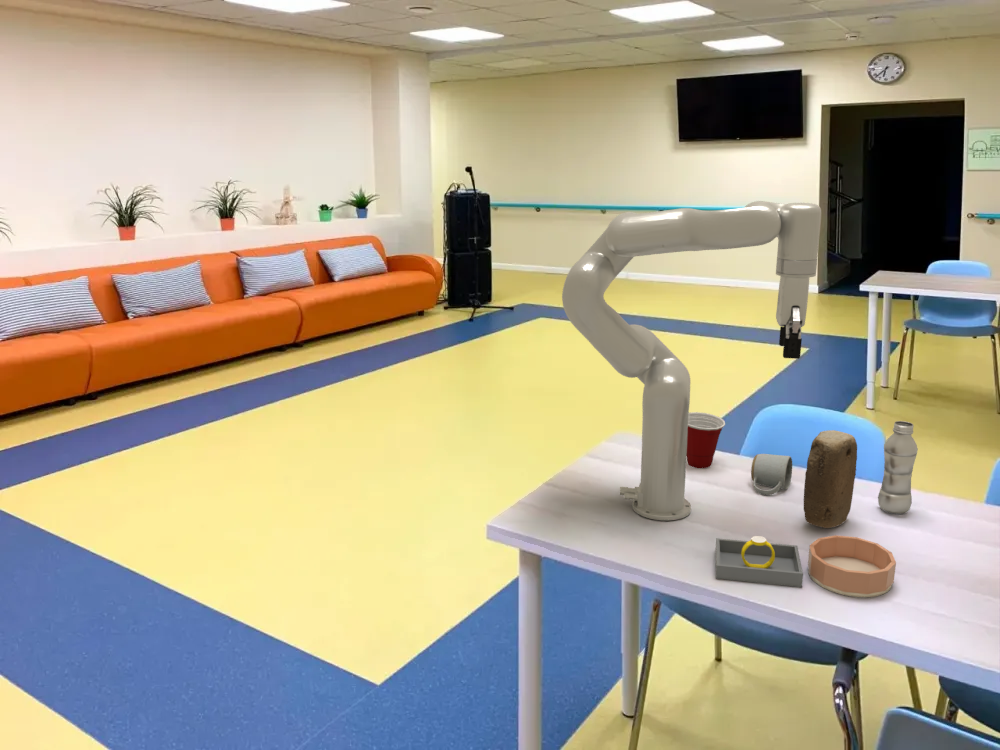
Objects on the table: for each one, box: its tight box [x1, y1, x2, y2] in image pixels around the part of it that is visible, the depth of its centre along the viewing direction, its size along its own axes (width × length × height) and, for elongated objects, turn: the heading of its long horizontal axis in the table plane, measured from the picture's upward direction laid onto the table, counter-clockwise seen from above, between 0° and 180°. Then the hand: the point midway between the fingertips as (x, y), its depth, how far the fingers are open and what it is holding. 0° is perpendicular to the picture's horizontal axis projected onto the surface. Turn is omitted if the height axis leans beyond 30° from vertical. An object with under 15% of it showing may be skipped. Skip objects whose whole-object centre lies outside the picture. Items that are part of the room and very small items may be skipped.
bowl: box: [807, 534, 897, 598], centre depth 161 cm, size 14×14×5 cm
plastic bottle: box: [877, 420, 919, 515], centre depth 185 cm, size 6×7×20 cm
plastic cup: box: [686, 411, 726, 469], centre depth 213 cm, size 11×11×12 cm
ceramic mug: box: [750, 453, 793, 496], centre depth 200 cm, size 11×8×8 cm
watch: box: [741, 535, 775, 569], centre depth 164 cm, size 6×3×6 cm, turn 82°
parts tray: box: [715, 537, 804, 588], centre depth 165 cm, size 15×11×3 cm
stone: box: [803, 429, 858, 529], centre depth 180 cm, size 12×7×20 cm, turn 133°
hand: (789, 351), depth 175 cm, fingers open, 9 cm apart
